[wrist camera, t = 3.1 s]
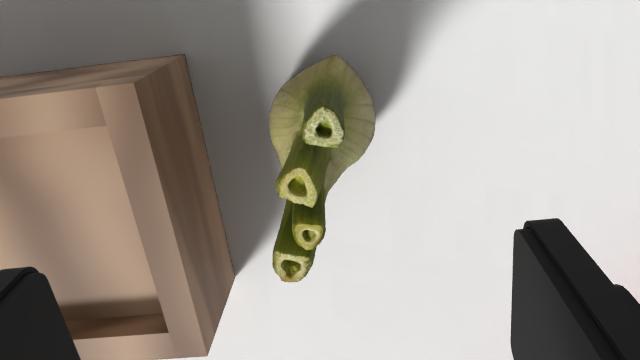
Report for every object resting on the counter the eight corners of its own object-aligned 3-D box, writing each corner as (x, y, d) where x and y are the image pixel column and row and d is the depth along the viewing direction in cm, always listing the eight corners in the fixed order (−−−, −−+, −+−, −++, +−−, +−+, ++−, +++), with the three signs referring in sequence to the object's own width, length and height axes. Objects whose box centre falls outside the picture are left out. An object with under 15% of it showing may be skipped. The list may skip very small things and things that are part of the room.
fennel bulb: (323, 30, 24) (306, 86, 13) (400, 95, 25) (442, 198, 14) (252, 120, 26) (184, 235, 15) (325, 177, 27) (313, 324, 16)
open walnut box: (184, 54, 25) (133, 82, 19) (234, 277, 30) (207, 356, 24) (-61, 84, 26) (-181, 120, 20) (27, 294, 31) (-49, 373, 25)
